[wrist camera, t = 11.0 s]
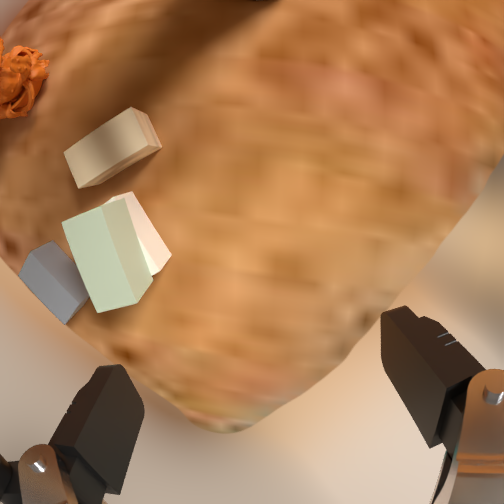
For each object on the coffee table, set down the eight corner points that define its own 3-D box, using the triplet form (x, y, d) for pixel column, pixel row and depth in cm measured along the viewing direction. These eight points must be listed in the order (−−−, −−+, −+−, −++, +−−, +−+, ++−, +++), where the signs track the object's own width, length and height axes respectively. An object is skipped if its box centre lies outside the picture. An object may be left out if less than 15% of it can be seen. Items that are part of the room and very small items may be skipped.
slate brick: (40, 262, 32) (18, 275, 27) (53, 239, 31) (30, 251, 26) (82, 306, 34) (64, 325, 29) (98, 285, 33) (79, 303, 28)
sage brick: (88, 211, 26) (61, 222, 21) (124, 197, 25) (100, 205, 21) (117, 290, 28) (97, 313, 23) (153, 280, 28) (137, 303, 23)
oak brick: (100, 184, 30) (78, 188, 25) (86, 152, 29) (63, 152, 24) (162, 147, 29) (148, 144, 24) (147, 114, 28) (131, 106, 23)
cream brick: (104, 211, 31) (83, 220, 26) (132, 191, 30) (113, 196, 25) (143, 272, 33) (128, 290, 28) (171, 255, 32) (160, 270, 27)
